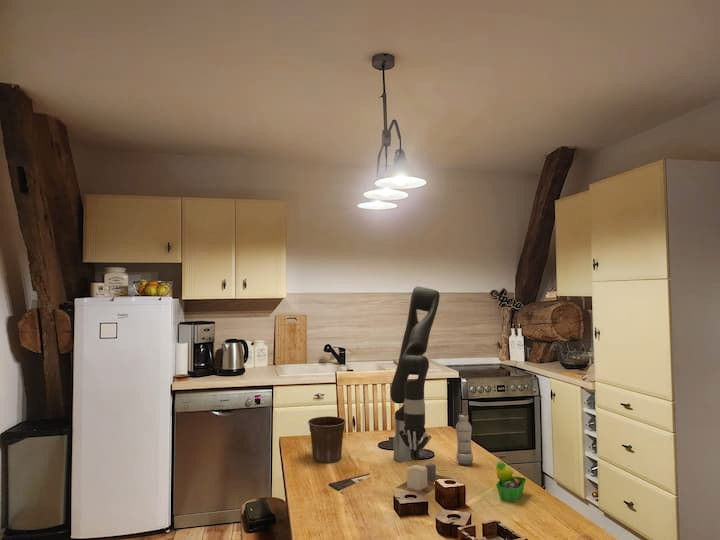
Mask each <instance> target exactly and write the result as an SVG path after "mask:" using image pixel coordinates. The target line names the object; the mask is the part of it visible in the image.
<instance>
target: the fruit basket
mask: <svg viewBox="0 0 720 540" xmlns="http://www.w3.org/2000/svg"><path fill="white" fill-rule="evenodd" d="M495 468H496V475H497V478H498V482H497V483H496V484H495V486H496V488H497V491H498V495H499V498H500V500H501V501H506V502H513V503H517V501H518V500H519V499H520V497H521V495H523V492H524V487H525V485H526V484H525V483H526V481H527V478H525V477H521V476H515V475H513V474H514V472H513V469H512V468H510V466H508V465H507V464H506V463H505V462H503V461H498V462H497V463H496V467H495Z"/></svg>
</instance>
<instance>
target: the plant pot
mask: <svg viewBox="0 0 720 540" xmlns="http://www.w3.org/2000/svg"><path fill="white" fill-rule="evenodd" d="M307 424H308V427H309V432H310V439H311V440H310V441H311V450H312V459H313V461H315V463H316V462H317V463H318V462H319V463H321V464H322V463H323V464H330V463H335V462H338V461H340V460H341V459H342V450H343V439H344V431H345V425H346V419H345V418H343V417H339V416H332V415H331V416H330V415H329V416H317V417H313V418H310V419H308V421H307Z"/></svg>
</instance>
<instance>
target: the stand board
mask: <svg viewBox="0 0 720 540" xmlns="http://www.w3.org/2000/svg"><path fill="white" fill-rule="evenodd" d="M438 479H452V480H453V479H454V478H453V477H449V476H445V475H440V474H437V473H436V480H438ZM434 482H435V480H434V481H428V480H427V487H426V488H424V489H422V490H420V491H418V490H415V489H411V488H407V481H405V482H403V483H401V484H399V485H398V486H396V487H395V488H396V489H400V490H403V491H406V492H409V493H410V492H411V493H414V494H417V495H420V494H421V495H422V496H425V495H427V494H429V493H431V492H432V491H435V490H436V489H435V484H434Z"/></svg>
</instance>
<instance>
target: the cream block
mask: <svg viewBox="0 0 720 540" xmlns="http://www.w3.org/2000/svg"><path fill="white" fill-rule="evenodd" d="M406 482H407V488H411V489H415V490H418V491H420V490H422V489H424V488H426V487H427V468H426V466H422V465H417V464H414V465H411V466H410V467H408V468H406Z"/></svg>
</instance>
